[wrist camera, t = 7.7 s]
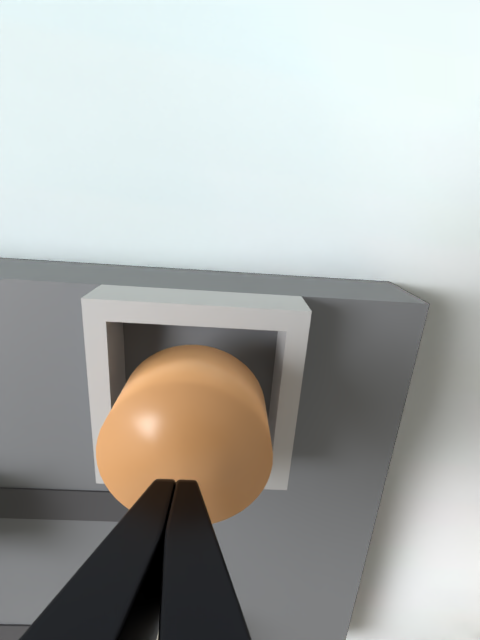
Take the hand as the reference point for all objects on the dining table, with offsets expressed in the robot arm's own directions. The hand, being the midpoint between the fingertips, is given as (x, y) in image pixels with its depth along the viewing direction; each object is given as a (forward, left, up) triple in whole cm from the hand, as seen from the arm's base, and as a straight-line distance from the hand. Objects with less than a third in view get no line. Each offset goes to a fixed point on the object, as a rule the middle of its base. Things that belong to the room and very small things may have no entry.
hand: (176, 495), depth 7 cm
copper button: (0, 0, -3) cm, 3 cm away
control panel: (-7, +3, -8) cm, 11 cm away
